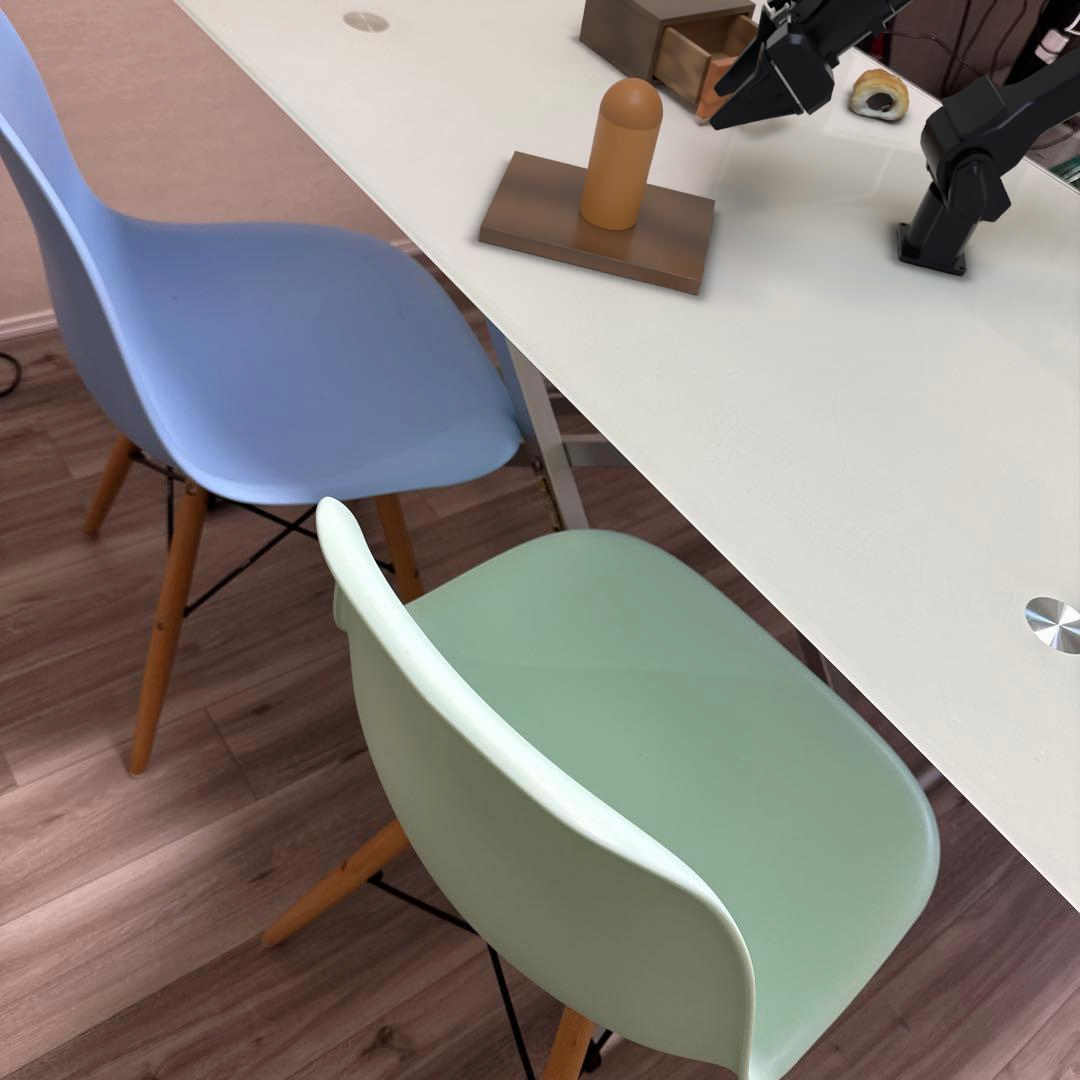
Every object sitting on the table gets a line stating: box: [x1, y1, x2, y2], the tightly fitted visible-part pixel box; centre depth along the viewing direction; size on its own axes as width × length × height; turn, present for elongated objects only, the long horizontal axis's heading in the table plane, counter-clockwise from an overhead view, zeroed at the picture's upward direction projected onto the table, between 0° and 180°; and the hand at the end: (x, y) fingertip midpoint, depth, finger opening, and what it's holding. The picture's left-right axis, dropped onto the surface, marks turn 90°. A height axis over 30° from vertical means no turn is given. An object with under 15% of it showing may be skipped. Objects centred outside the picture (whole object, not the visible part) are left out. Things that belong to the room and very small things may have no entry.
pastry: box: [850, 68, 910, 121], centre depth 116 cm, size 9×7×4 cm
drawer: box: [653, 13, 759, 121], centre depth 109 cm, size 16×13×6 cm
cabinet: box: [578, 0, 757, 88], centre depth 114 cm, size 13×15×8 cm
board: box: [478, 150, 716, 296], centre depth 91 cm, size 14×20×2 cm
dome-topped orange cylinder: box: [580, 77, 664, 230], centre depth 85 cm, size 5×5×12 cm
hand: (714, 108), depth 87 cm, fingers open, 9 cm apart
